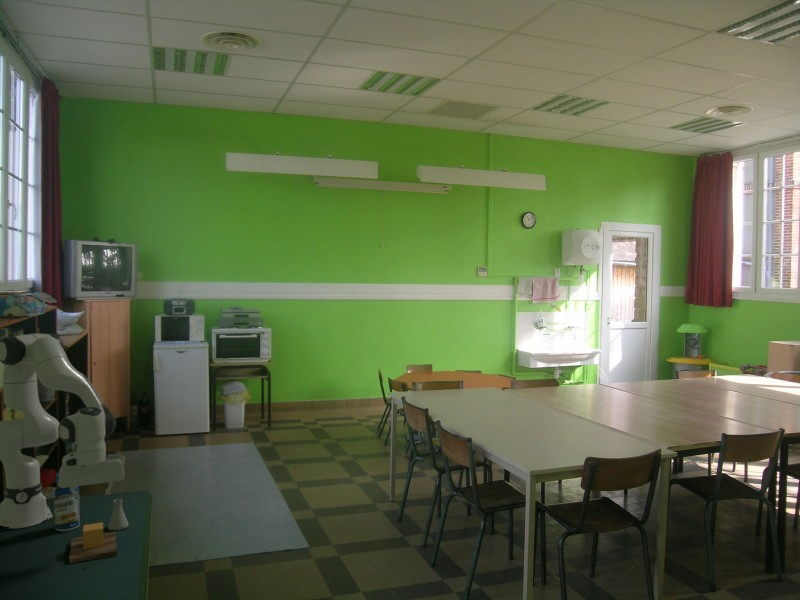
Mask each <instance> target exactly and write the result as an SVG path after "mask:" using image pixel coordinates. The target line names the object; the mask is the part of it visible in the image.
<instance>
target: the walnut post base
mask: <svg viewBox="0 0 800 600" xmlns="http://www.w3.org/2000/svg"><path fill="white" fill-rule="evenodd" d="M70 541H71V543H70V547H69V549H70V550H69V557H68V563H70V564H74V562H76V563H80V562H79V561H82V562H86V561H85V560H88V561H92V559H94V560H99V558H100V559H105V558H111V557H117V555H118V550H117V549H118V548H117V531H111V532H103V546H100V547H94V548H88V549H84V547H83V536H78V537H74V538H73V537H71V540H70ZM110 556H111V557H110Z"/></svg>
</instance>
